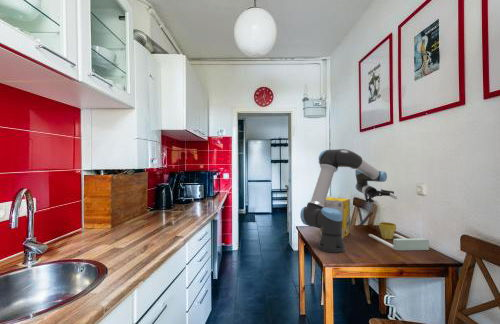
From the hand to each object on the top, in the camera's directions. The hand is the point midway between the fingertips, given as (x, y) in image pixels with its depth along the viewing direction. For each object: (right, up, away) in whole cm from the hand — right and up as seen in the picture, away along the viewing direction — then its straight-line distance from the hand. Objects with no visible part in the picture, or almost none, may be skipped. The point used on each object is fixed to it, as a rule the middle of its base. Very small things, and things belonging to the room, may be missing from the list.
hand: (386, 200), depth 176 cm
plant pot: (+4, -27, +7) cm, 28 cm away
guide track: (+4, -27, -2) cm, 27 cm away
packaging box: (-29, -27, +16) cm, 42 cm away
